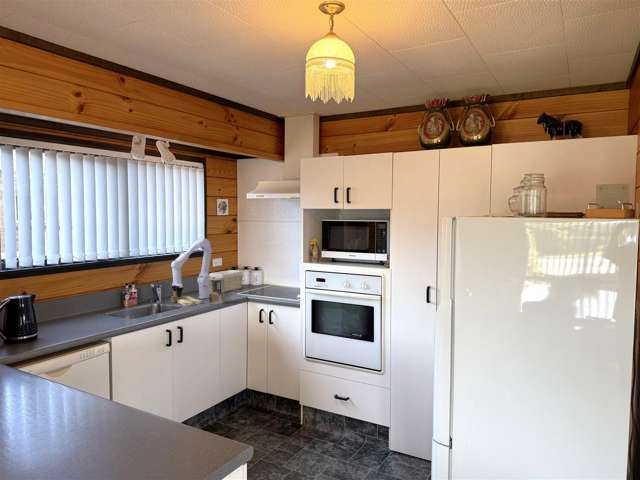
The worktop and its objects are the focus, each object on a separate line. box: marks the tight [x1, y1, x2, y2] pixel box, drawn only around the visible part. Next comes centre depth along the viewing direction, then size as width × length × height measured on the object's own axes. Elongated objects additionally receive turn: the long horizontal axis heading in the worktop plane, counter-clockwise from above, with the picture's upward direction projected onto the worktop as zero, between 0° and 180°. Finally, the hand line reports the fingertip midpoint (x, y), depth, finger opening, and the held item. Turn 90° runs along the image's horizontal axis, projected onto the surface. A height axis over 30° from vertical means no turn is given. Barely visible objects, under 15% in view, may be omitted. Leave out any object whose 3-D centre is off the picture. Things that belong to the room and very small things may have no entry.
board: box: [176, 295, 204, 307], centre depth 317 cm, size 12×24×2 cm, turn 38°
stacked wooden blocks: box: [170, 290, 188, 304], centre depth 321 cm, size 10×5×7 cm, turn 128°
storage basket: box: [208, 269, 244, 293], centre depth 362 cm, size 24×16×15 cm
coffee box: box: [208, 280, 226, 305], centre depth 311 cm, size 9×6×16 cm
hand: (178, 296), depth 320 cm, fingers closed on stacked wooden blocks, 4 cm apart
